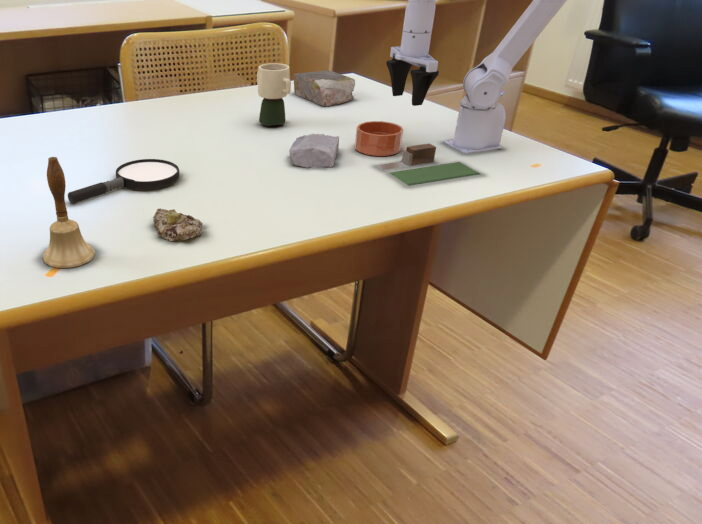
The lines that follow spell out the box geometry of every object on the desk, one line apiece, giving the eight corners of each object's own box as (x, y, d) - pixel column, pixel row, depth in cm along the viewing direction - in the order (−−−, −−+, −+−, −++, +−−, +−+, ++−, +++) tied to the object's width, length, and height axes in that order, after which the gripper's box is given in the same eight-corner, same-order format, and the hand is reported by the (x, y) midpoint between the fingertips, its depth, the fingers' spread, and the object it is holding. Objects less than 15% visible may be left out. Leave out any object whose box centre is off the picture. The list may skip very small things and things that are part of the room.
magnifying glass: (53, 194, 130) (51, 183, 128) (153, 163, 143) (153, 152, 141) (90, 214, 122) (88, 202, 121) (192, 179, 135) (191, 168, 134)
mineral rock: (217, 219, 114) (179, 220, 109) (212, 245, 116) (175, 246, 111) (178, 202, 121) (141, 202, 116) (175, 226, 123) (138, 227, 118)
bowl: (384, 140, 153) (387, 119, 150) (408, 154, 146) (411, 132, 143) (346, 146, 150) (348, 124, 147) (368, 160, 143) (371, 137, 140)
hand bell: (32, 263, 107) (13, 164, 98) (60, 241, 114) (45, 146, 104) (78, 272, 105) (63, 171, 96) (104, 249, 111) (92, 152, 102)
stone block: (289, 174, 141) (337, 168, 139) (285, 151, 139) (334, 144, 136) (296, 157, 151) (341, 150, 148) (292, 135, 148) (339, 128, 146)
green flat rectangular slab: (458, 163, 141) (459, 161, 141) (480, 175, 136) (481, 173, 136) (389, 174, 137) (389, 172, 137) (408, 187, 131) (409, 185, 131)
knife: (426, 159, 143) (429, 143, 141) (433, 163, 141) (436, 147, 139) (376, 166, 140) (378, 150, 138) (383, 171, 138) (385, 154, 136)
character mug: (298, 126, 161) (302, 68, 154) (276, 133, 158) (279, 73, 150) (267, 116, 168) (269, 59, 160) (245, 122, 164) (246, 64, 157)
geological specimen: (326, 68, 186) (360, 77, 174) (324, 92, 189) (357, 102, 178) (292, 72, 181) (325, 81, 170) (291, 96, 185) (324, 107, 173)
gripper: (381, 25, 142) (373, 93, 150) (420, 39, 131) (409, 111, 139) (410, 23, 144) (401, 90, 152) (451, 36, 133) (439, 107, 141)
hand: (407, 100), depth 146 cm, fingers open, 7 cm apart
